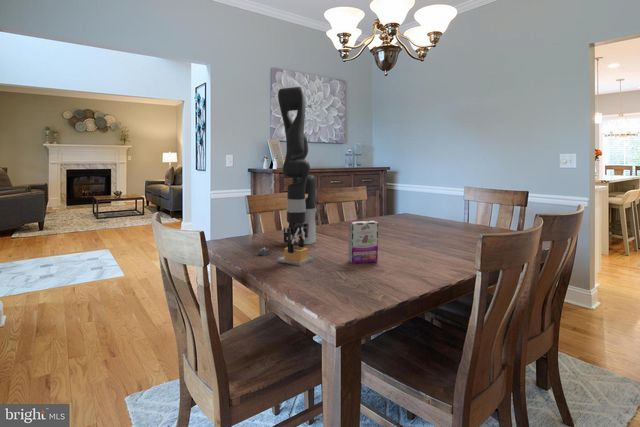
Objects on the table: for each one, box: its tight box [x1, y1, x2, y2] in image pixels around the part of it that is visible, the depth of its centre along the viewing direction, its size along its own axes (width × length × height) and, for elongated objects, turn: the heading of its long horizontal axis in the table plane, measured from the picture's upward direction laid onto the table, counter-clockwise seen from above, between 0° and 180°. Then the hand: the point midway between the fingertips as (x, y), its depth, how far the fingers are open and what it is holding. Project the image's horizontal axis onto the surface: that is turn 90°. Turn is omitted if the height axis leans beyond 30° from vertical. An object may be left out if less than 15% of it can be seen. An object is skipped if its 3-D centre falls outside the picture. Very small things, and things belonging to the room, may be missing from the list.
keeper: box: [277, 245, 315, 267], centre depth 150 cm, size 10×11×6 cm
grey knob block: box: [257, 247, 270, 257], centre depth 160 cm, size 4×3×3 cm
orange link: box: [283, 246, 309, 261], centre depth 150 cm, size 5×8×4 cm, turn 59°
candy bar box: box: [347, 220, 379, 265], centre depth 149 cm, size 11×5×16 cm, turn 105°
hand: (296, 250), depth 150 cm, fingers open, 7 cm apart
